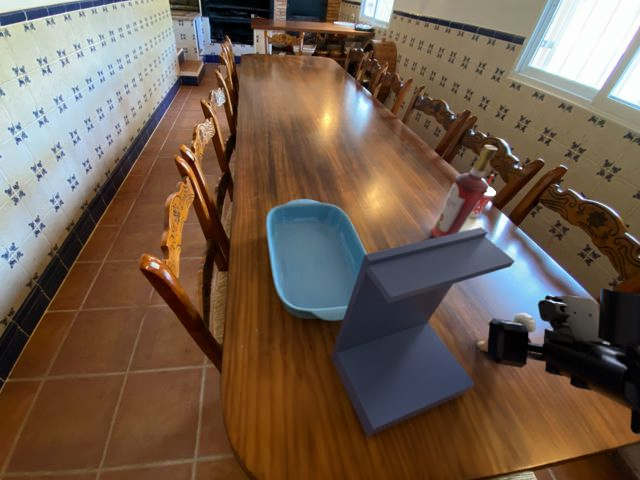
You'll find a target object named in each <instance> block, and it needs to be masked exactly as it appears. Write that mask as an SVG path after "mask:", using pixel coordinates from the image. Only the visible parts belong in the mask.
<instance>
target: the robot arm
mask: <svg viewBox="0 0 640 480" xmlns="http://www.w3.org/2000/svg"><path fill="white" fill-rule="evenodd" d="M537 307H538V312H539V313H538V314H539V318H540V319H541V320H542V321H543V322H547V323H549V324H550V327H551V328H552V329H550V328H544V334H543V343H541V344H540V343H534V342H531V343H529V342H528V338H529V339H530V332H528V331H527V329H526V327H525V325H523V324H520V323H516V322H513V320H509V321H506V320H507V319H501V320H500V319H499V318H492V319H491V320H489V321H490V325H488V326H489V327H488V336H487V338H488V348H487V351H486V356H487V357H488V359H489V360H491V361H492V362H494V363H495V364H498V365H502V366H508V367H514V368H519V369H522V368H523V367H524V366H526V365H527V363H528V360H531V361H536V362H542V363H545V366H544V367H545V368H544V371H545V373H547V374H550V375H554V376H559V377H565V378H567V379H569V380H570V381H569V384H570V386H572V387H575V388H576V389H582V390H587V391H591V392H595V393H597V394H599V395H601V396H603V397H604V398H607V399H609V400H611V401H613V402H615V403H616V404H617V405H618V404H619V405H621V406H622V407H625V408H627V409H628V410H630V430H631V431H630V432H632V433H633V434H634V435H639V436H640V293H635V292H629V291H622V290H617V289H616V290H615V289H609V288H600V296H599V306H598V304H597V302H596V301H594V299H592V298H589V297H582V296H576V295H575V296H574V295H569V294H564V295H560V296H558V295H549V294H546V296H545V297H544V299H542V300H539V301H538V303H537ZM527 351H529V352H527Z"/></svg>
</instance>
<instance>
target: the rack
mask: <svg viewBox="0 0 640 480" xmlns="http://www.w3.org/2000/svg"><path fill="white" fill-rule="evenodd" d="M487 234H488V231H487V230H486V229H484V228H483V227H482V226H480V227H477V228H472V229H467V230H464V231H459V233H455V234H450V235H446V236H442V237H438V238H434V237H433V238H429V239H426V240H421V241H420V240H419V241H417V242H411V243H408V244H404V245H400V246H395V247H391V248H386V249H382V250H377V251H374V252H369V253H367V254H365V256H364V259H363V262H362V265H361V268H360V271H359V274H358V277H357V280H356V283H355V286H354V289H353V292H352V295H351V298H350V301H349V304H348V307H347V310H346V313H345V316H344V319H343V320H342V322H341V325H340V328H339V331H338V333H337V336H336V340H335V343H334V345H333V348H332V352H331V355H330V358H331V360H332V362H333V364H334V367H335V369H336V371H337V373H338V375H339V378H340V380H341V383H342V385H343V387H344V389H345V390H346V393H347V396H348V398H349V400H350V402H351V405H352V406H353V409H354V411H355V414H356V416H357V418H358V420H359V422H360V424H361V426H362V429H363V431H364V433H365V435H366V437H367V438H369V437H371V436H373V435H376V434H377V433H380V432H382V431H384V430H387V429H389V428H391V427H393V426H395V425H398V424H400V423H403V422H405V421H407V420H409V419H411V418H414V417H416V416H418V415H421V414H423V413H425V412H427V411H430V410H432V409H434V408H436V407H438V406H441V405H443V404H445V403H447V402H449V401H451V400H454V399H456V398H458V397H461V396H463V395H465V394H466V393H468V392H469V390H472V388H473V387H474V386H476V383H475V382H474V381H473V379H472V378H471V376H470V375H469V374H468V373H467V371H466V370H465V369H464V368H463V365H461V364H460V362H459V361H458V360H457V358H456V357H455V356H454V354H453V353H452V352H451V351H450V349H449V348H448V346H447V345H446V344H445V343H444V341H443V340H442V339H441V337H440V336H439V335H438V334H437V332H436V330H434V328H433V327H432V325H431V324H430V323H429V321H430V320H431V317H433V315H434V313H435V312H436V310H438V307H439V306H440V304H441V303H442V302H443V300H444V299H445V297H446V295H448V293H449V291H450V290H451V288H452V287H453V285H455V284H458V283H460V282H461V283H462V282H464V281H467V280H470V279H474V278H477V277H480V276H484V275H487V274H491V273H494V272H498V271H500V270H505V269H507V268H511V267H512V265H513V264H514V263H515V259H513V258H512V257H511V256H510V255H509V254H508V253H506V252H504V251H503V250H502V249H501V248H500V247H499V246H497V245H496V244H495V243H494V242H493V241H491V240H490V239H489V238H488V237H486V236H487Z"/></svg>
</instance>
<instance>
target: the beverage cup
mask: <svg viewBox="0 0 640 480" xmlns="http://www.w3.org/2000/svg"><path fill="white" fill-rule="evenodd" d="M493 178H494V174H491V175H490V177H489V179H488V181H487V184H488V186H489V184H490V183H491V181H492V180H493ZM496 194H497V193H496V191H495V189H494V188H492V187H491V186H489V188H488V189H487V191H486V192H485V194H484V195H483V197H482V198H481V200H480V202H479V203H478V205H477V206H476V207H475V209H474V210H473V212H472V213H471V215H470V216H469V218H478V217H479V216H480V215H481V213H483V211H484V210H485V208H486V207H487V205H488V204H489V202H490V200H492V198H494V197H495V195H496Z"/></svg>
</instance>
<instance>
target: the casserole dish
mask: <svg viewBox="0 0 640 480" xmlns="http://www.w3.org/2000/svg"><path fill="white" fill-rule="evenodd" d="M265 231H266V238H267V246H268V247H267V248H268V253H269V260H270V268H271V269H270V270H271V275H272V280H273V285H274V289H275V291H276V294H277V296H278V297H279V299H280V301H281V303H282V306H284V308H285V309H286V311H287V312H289V314H290V315H292V316H294V317H296V318H299V319H303V320H304V319H306V320H316V319H321V320H322V321H326V322H337V321H343V319H344V316H345V313H346V310H347V307H348V304H349V301H350V298H351V295H352V292H353V289H354V286H355V283H356V280H357V277H358V274H359V271H360V268H361V265H362V262H363V259H364V256H365V254H368V253H367V251H366V249H365V247H364V245H363V243H362V241H361V239H360V237H359V235H358V232H357V231H356V229H355V226H354V225H353V223H352V221H351V219H350V217H349V216H348V214H347V213H346V212H345V211H344V210H343V209H342V208H340V207H338V206H336V205H333V204H331V203H326V202H325V203H324V202H320V201H317V200H314V199H303V198H301V199H292V200H290V201H288V202H287V203H284V204H281V205H277V206H274V207H273V208H271V209H270V210H269V211H268V212H267V214H266V218H265Z"/></svg>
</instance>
